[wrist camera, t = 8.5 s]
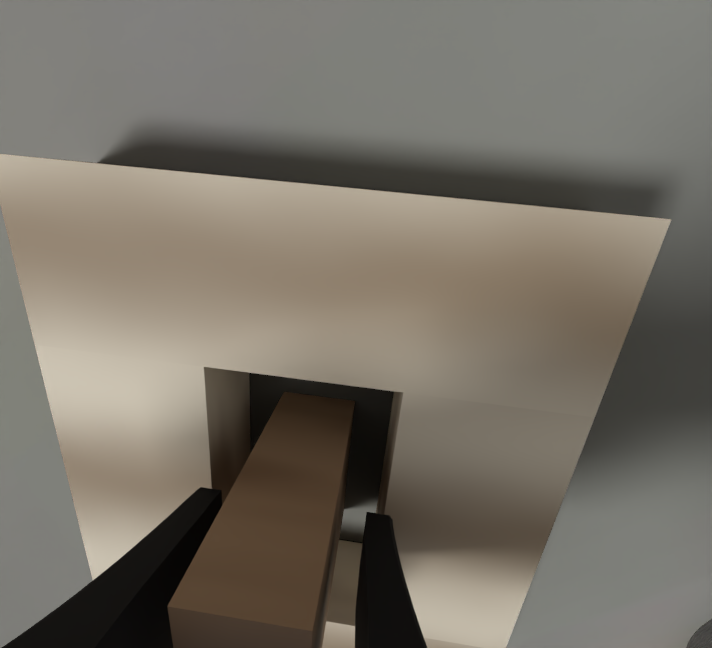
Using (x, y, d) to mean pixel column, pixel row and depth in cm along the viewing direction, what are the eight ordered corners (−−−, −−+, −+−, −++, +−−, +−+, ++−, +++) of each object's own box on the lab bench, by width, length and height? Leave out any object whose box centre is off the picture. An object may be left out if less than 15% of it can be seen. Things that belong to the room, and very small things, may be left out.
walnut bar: (343, 509, 14) (301, 778, 8) (281, 500, 14) (189, 756, 8) (354, 400, 13) (313, 630, 6) (284, 391, 13) (167, 605, 6)
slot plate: (461, 632, 16) (475, 726, 13) (159, 582, 17) (112, 660, 14) (590, 210, 10) (671, 219, 7) (95, 162, 11) (-13, 152, 8)
